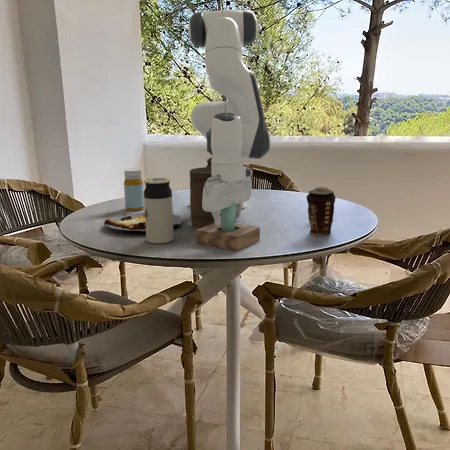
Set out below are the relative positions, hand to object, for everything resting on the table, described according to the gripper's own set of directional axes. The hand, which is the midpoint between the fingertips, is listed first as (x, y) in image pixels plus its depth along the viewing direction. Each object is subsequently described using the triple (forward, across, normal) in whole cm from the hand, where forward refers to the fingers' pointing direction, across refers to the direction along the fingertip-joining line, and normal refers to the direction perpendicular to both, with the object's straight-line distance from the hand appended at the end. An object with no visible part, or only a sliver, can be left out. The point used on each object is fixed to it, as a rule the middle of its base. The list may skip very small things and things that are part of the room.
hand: (228, 221), depth 139 cm
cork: (+6, +39, -12) cm, 41 cm away
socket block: (+6, 0, 0) cm, 6 cm away
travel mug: (+6, -9, +18) cm, 21 cm away
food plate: (+7, +1, +34) cm, 35 cm away
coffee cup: (+6, +22, -19) cm, 30 cm away
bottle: (+6, +18, +54) cm, 57 cm away
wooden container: (+6, +14, +15) cm, 21 cm away
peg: (+6, 0, 0) cm, 6 cm away
